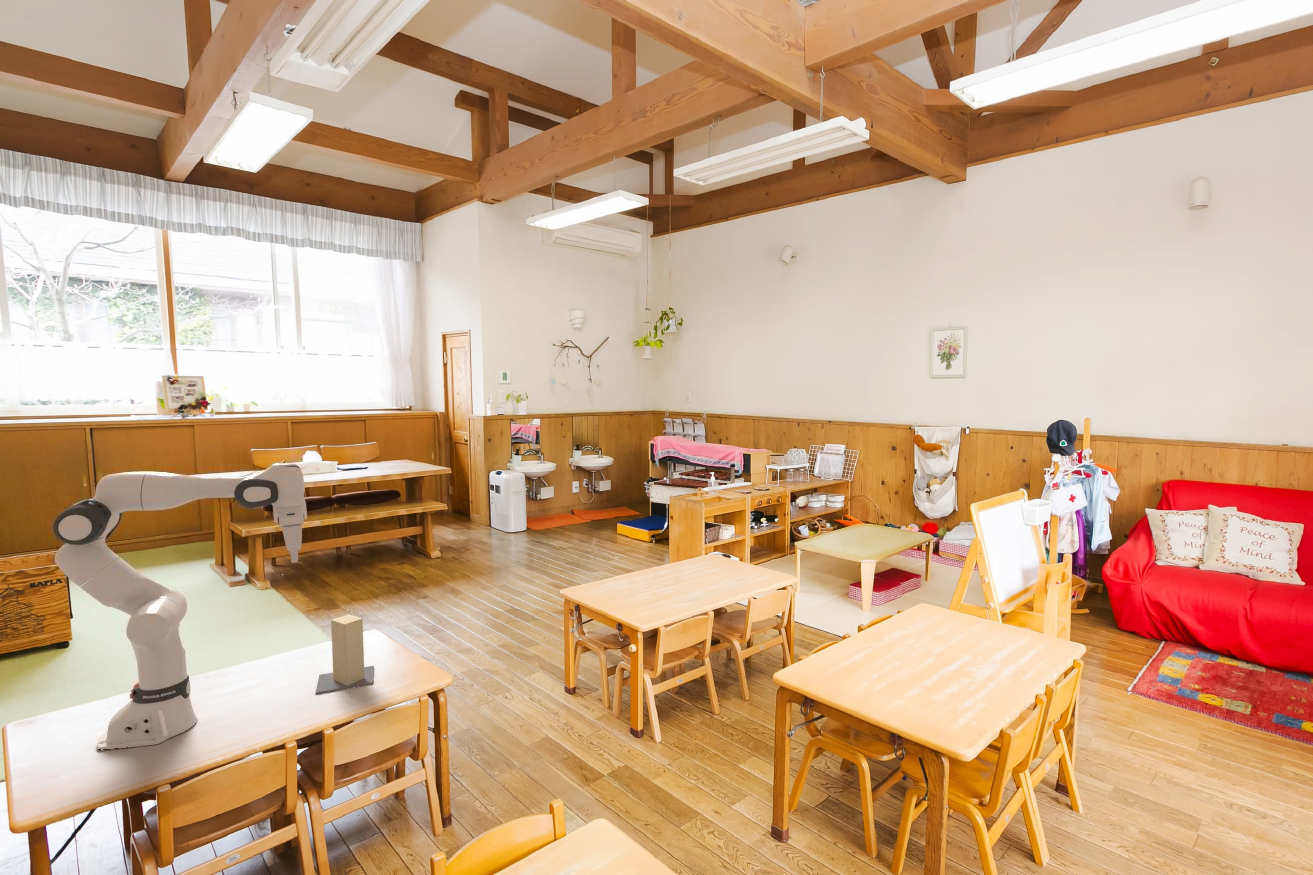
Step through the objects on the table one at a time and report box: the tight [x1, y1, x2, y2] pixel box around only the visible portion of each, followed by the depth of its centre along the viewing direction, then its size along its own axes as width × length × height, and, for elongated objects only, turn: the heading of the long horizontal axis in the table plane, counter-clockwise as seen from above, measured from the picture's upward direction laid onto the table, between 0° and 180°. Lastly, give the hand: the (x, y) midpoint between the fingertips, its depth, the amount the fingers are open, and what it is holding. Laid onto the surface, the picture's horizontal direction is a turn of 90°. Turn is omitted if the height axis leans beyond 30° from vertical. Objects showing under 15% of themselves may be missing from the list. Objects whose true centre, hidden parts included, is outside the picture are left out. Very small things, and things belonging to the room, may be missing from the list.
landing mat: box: [314, 665, 375, 695], centre depth 215 cm, size 17×14×1 cm
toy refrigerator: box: [330, 613, 365, 686], centre depth 213 cm, size 8×7×21 cm
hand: (294, 558), depth 196 cm, fingers open, 8 cm apart
